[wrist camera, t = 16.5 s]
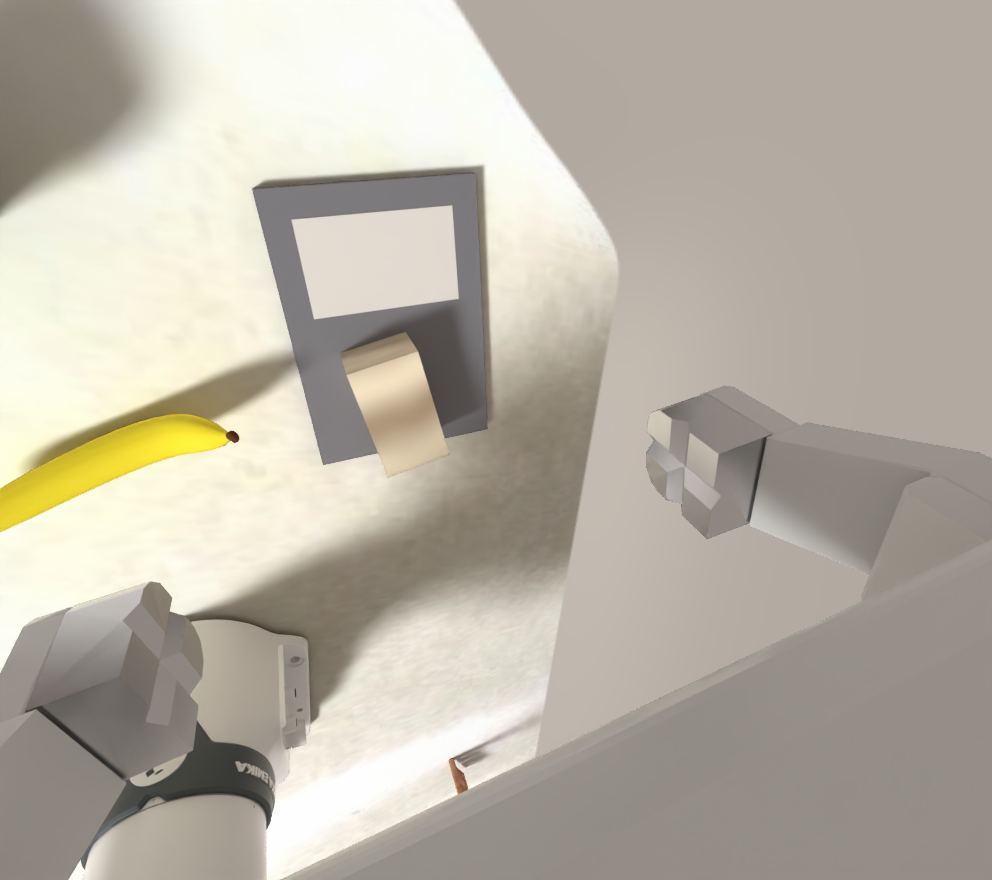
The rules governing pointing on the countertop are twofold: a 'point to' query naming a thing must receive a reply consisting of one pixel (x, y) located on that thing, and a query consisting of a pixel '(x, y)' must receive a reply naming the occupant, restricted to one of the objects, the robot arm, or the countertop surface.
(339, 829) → the countertop surface
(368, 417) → the block
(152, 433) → the banana
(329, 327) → the mat
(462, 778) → the key
